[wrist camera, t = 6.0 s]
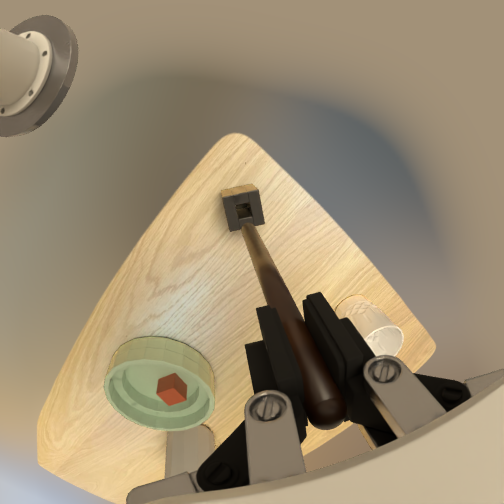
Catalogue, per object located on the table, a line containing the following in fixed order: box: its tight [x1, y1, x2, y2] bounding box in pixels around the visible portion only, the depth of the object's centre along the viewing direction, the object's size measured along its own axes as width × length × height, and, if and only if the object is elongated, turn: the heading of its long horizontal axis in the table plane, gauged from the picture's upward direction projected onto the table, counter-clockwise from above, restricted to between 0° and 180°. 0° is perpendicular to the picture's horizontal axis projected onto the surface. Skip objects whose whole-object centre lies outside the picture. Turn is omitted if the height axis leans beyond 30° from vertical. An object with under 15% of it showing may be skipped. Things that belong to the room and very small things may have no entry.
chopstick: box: [241, 223, 347, 430], centre depth 16 cm, size 1×1×20 cm
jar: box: [165, 424, 215, 478], centre depth 43 cm, size 10×10×18 cm
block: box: [156, 373, 187, 406], centre depth 43 cm, size 4×4×4 cm
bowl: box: [104, 336, 215, 431], centre depth 42 cm, size 18×18×6 cm
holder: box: [221, 184, 265, 232], centre depth 34 cm, size 4×4×5 cm
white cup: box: [335, 295, 404, 357], centre depth 40 cm, size 8×8×10 cm
